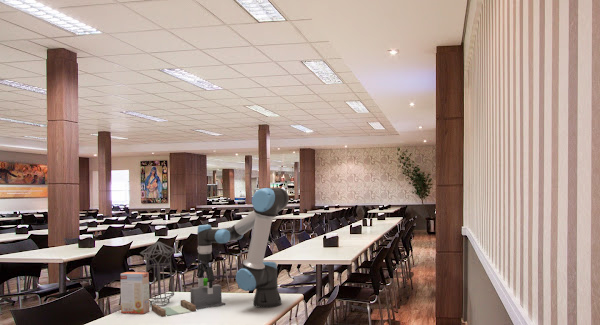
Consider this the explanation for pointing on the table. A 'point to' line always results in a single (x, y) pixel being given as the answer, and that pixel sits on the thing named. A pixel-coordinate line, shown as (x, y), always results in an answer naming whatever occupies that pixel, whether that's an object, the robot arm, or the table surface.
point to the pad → (175, 310)
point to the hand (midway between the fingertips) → (205, 291)
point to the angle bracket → (206, 297)
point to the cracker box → (135, 292)
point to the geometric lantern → (159, 269)
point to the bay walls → (184, 304)
